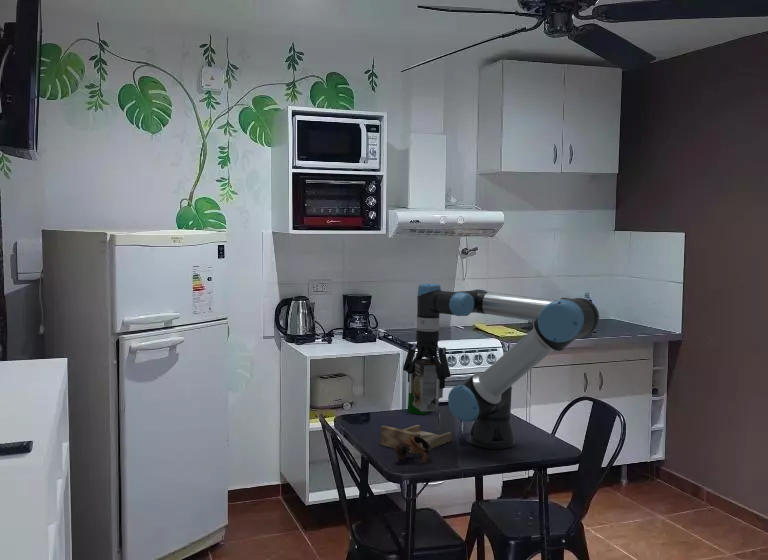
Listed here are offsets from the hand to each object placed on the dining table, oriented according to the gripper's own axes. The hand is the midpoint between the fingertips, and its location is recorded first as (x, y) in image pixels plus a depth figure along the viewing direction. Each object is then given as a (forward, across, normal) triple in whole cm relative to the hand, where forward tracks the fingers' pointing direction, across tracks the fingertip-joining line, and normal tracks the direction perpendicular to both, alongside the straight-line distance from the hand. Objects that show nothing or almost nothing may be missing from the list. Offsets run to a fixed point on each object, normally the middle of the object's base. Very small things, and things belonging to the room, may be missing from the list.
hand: (425, 395), depth 239 cm
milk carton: (+16, -24, +30) cm, 41 cm away
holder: (+15, 0, -6) cm, 16 cm away
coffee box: (+5, 0, 0) cm, 5 cm away
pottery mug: (+16, +10, -20) cm, 27 cm away
